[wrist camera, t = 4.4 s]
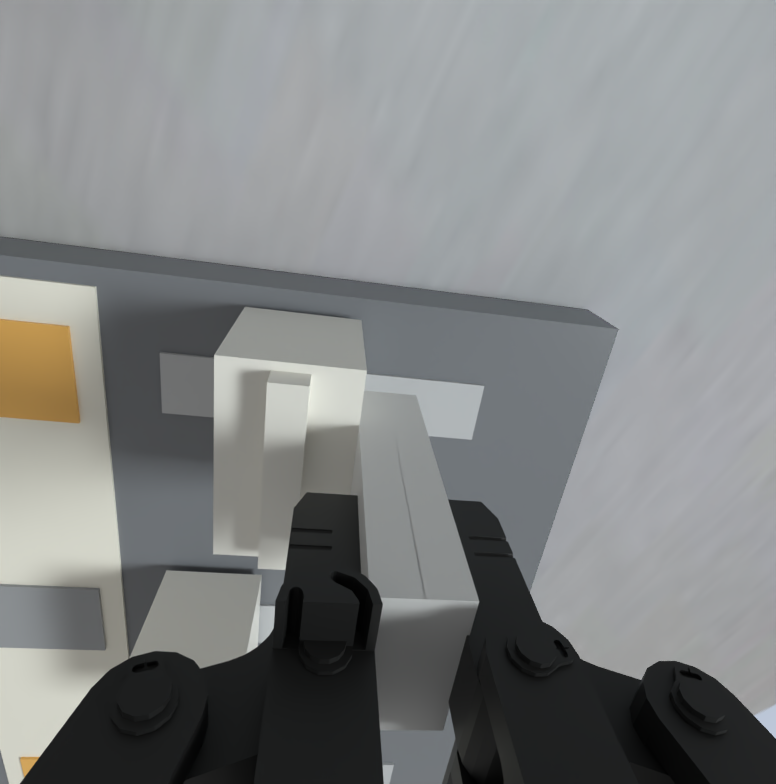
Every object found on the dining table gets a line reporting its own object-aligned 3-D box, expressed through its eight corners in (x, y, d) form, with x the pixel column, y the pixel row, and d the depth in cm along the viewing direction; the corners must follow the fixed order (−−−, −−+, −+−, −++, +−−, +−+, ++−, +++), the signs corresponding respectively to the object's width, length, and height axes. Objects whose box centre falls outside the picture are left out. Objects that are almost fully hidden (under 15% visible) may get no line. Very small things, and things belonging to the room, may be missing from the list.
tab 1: (361, 319, 14) (368, 382, 10) (341, 478, 16) (340, 579, 12) (244, 306, 13) (206, 366, 10) (239, 470, 15) (207, 573, 12)
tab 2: (261, 574, 17) (239, 693, 13) (255, 678, 19) (234, 805, 15) (166, 570, 17) (115, 690, 13) (171, 675, 19) (128, 806, 15)
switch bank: (588, 309, 16) (621, 331, 14) (446, 767, 26) (455, 818, 24) (-196, 212, 14) (-288, 222, 12) (-27, 767, 23) (-61, 824, 21)
